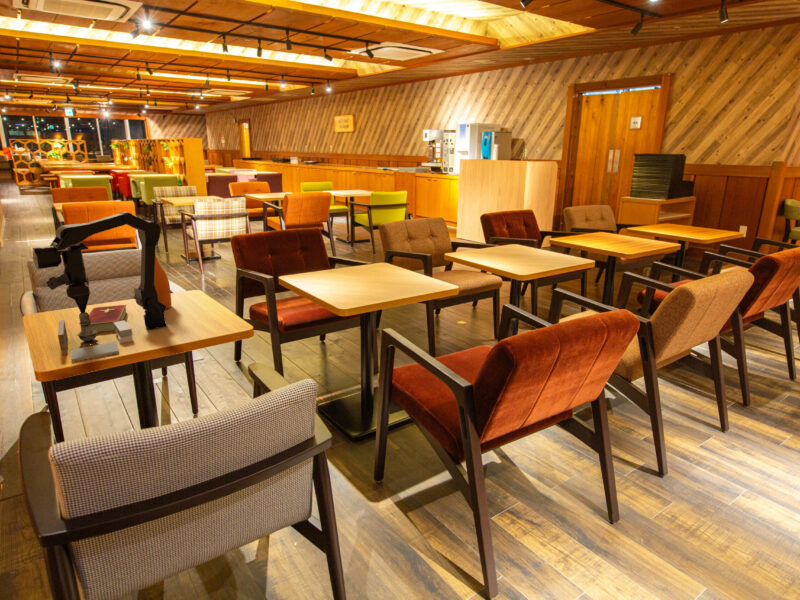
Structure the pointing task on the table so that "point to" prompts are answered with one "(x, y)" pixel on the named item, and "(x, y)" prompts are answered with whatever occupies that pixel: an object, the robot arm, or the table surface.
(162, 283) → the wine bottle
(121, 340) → the bottom offcut
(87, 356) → the slate mat
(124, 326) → the top offcut
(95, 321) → the hardcover book
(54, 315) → the table surface
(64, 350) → the long thin taupe batten
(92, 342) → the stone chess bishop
